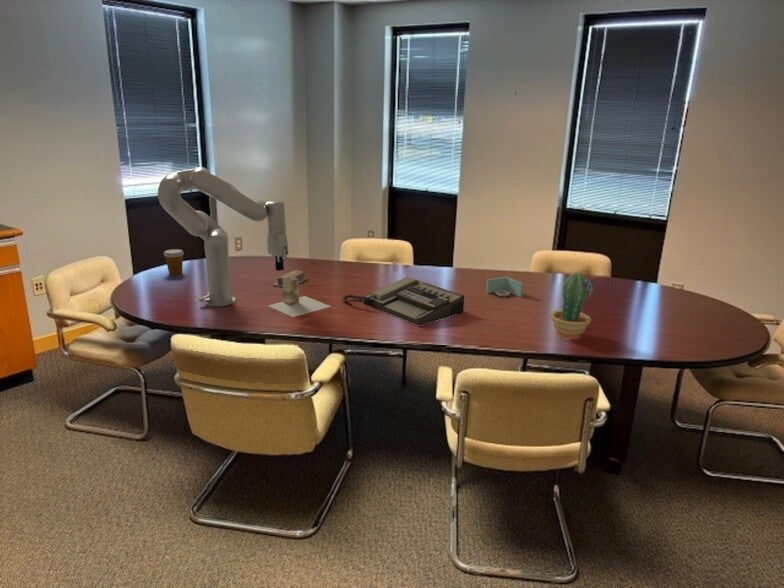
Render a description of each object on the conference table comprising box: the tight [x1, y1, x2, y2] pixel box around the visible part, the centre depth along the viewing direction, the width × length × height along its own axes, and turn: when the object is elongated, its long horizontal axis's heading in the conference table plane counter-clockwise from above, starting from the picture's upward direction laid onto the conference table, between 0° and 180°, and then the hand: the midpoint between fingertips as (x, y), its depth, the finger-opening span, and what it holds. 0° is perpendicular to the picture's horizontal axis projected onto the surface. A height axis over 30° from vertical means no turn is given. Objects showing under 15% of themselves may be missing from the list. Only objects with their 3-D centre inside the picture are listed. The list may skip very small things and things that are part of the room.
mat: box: [267, 295, 331, 318], centre depth 243 cm, size 20×19×1 cm
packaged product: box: [272, 269, 309, 288], centre depth 278 cm, size 18×5×10 cm
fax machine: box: [341, 276, 465, 325], centre depth 245 cm, size 45×34×10 cm
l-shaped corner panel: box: [485, 276, 524, 298], centre depth 265 cm, size 12×12×8 cm
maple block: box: [282, 277, 300, 305], centre depth 246 cm, size 5×5×11 cm
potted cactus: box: [549, 273, 594, 339], centre depth 215 cm, size 15×15×25 cm
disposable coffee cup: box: [163, 248, 185, 276], centre depth 286 cm, size 10×10×12 cm
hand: (279, 269), depth 249 cm, fingers closed
